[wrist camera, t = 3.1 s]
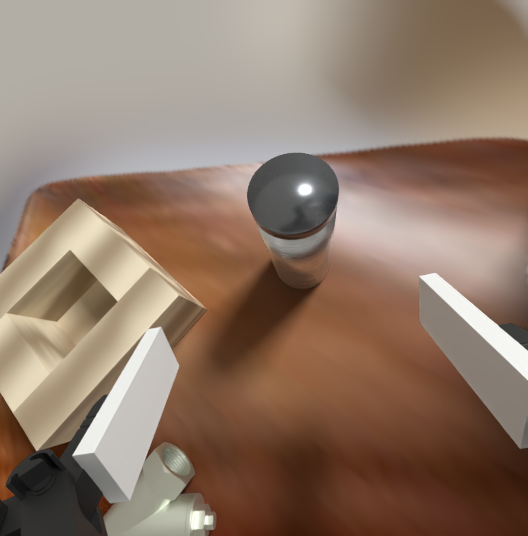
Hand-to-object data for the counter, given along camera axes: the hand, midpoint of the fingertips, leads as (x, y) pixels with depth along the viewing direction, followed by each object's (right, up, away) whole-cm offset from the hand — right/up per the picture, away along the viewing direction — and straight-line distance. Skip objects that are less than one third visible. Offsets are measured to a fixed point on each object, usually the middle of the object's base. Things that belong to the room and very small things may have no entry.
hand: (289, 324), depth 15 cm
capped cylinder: (+2, +3, +12) cm, 13 cm away
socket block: (-16, -2, +14) cm, 22 cm away
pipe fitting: (-9, -16, +8) cm, 20 cm away
